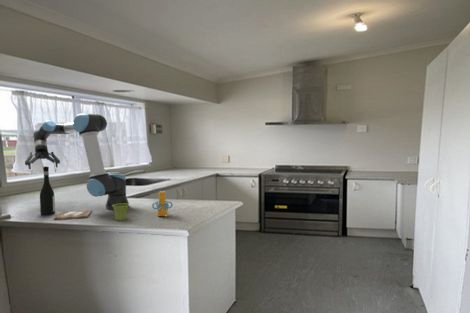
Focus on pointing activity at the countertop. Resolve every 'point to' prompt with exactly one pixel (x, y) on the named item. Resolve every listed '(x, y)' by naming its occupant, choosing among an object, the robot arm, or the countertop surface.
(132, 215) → the countertop surface
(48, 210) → the wine bottle
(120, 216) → the plant pot
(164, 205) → the orange block with loops
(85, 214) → the board
